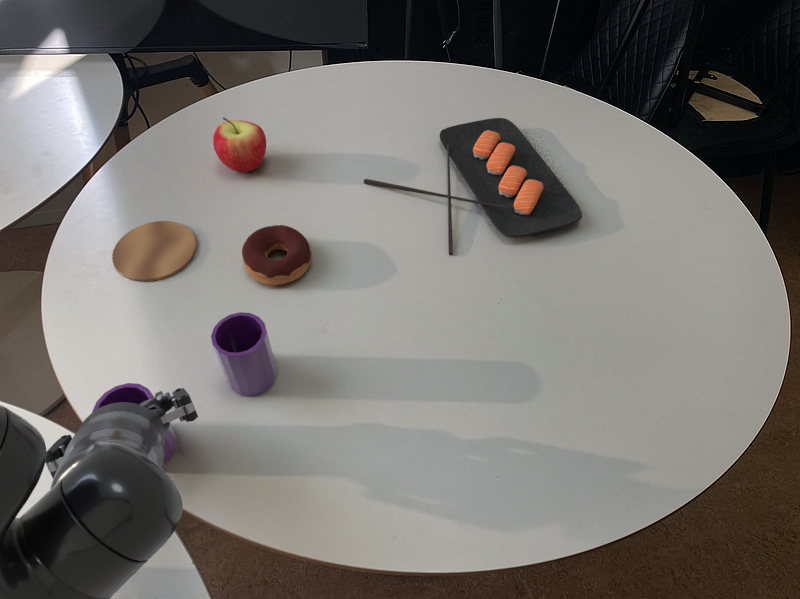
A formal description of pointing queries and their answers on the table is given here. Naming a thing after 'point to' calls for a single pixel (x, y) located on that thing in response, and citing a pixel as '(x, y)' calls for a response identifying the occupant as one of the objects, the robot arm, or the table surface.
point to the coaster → (154, 251)
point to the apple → (240, 144)
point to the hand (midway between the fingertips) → (130, 413)
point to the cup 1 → (137, 396)
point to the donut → (283, 268)
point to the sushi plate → (504, 179)
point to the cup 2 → (244, 353)
